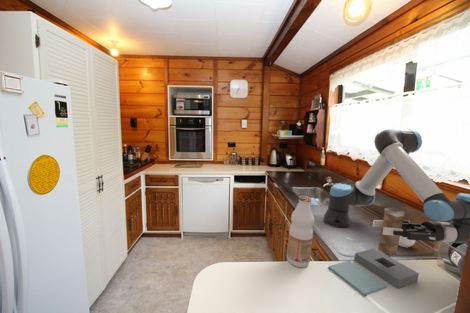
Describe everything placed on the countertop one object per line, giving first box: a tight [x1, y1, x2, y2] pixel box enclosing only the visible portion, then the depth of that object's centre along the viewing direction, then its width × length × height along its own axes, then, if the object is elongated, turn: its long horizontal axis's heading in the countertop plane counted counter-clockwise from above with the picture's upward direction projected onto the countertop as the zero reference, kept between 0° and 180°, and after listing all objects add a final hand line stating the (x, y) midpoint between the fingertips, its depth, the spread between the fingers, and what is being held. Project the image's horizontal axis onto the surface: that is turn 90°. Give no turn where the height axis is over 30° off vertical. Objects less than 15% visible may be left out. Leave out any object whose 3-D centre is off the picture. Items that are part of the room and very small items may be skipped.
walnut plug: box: [377, 206, 406, 257], centre depth 90 cm, size 5×5×18 cm
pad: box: [327, 260, 388, 297], centre depth 87 cm, size 16×12×1 cm
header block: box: [353, 248, 420, 289], centre depth 92 cm, size 18×12×4 cm, turn 24°
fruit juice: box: [286, 195, 315, 268], centre depth 94 cm, size 9×9×28 cm
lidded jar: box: [398, 229, 417, 248], centre depth 116 cm, size 11×11×9 cm
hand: (378, 226), depth 90 cm, fingers closed on walnut plug, 6 cm apart
